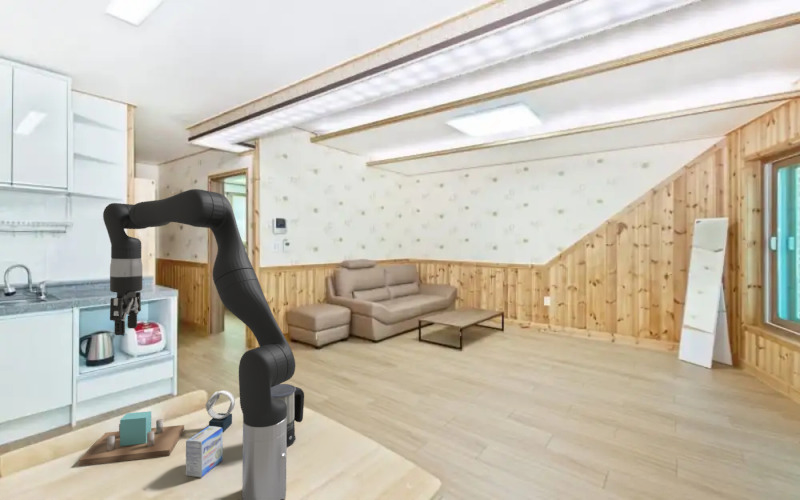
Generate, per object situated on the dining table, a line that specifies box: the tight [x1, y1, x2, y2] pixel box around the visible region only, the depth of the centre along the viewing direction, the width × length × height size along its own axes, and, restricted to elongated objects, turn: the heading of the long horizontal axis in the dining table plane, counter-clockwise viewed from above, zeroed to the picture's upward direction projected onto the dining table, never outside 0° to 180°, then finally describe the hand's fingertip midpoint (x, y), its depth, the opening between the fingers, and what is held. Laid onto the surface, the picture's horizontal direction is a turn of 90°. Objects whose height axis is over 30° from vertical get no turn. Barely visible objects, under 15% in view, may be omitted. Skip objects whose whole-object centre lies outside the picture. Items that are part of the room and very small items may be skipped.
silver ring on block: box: [205, 389, 236, 433], centre depth 116 cm, size 6×8×11 cm
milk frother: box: [271, 383, 305, 448], centre depth 111 cm, size 14×16×15 cm
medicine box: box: [185, 425, 224, 478], centre depth 95 cm, size 8×4×9 cm, turn 168°
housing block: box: [119, 410, 152, 446], centre depth 104 cm, size 6×4×7 cm, turn 105°
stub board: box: [78, 418, 185, 467], centre depth 105 cm, size 20×14×5 cm
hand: (126, 331), depth 109 cm, fingers open, 8 cm apart
